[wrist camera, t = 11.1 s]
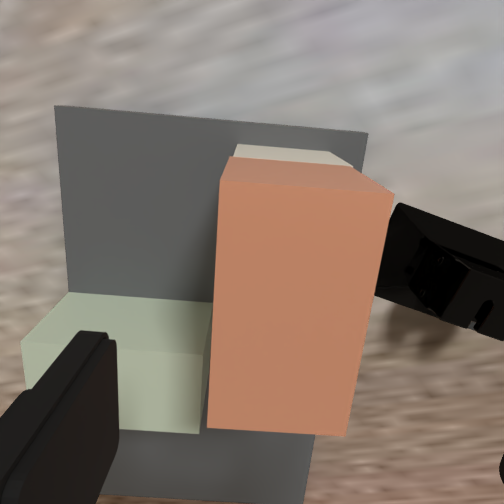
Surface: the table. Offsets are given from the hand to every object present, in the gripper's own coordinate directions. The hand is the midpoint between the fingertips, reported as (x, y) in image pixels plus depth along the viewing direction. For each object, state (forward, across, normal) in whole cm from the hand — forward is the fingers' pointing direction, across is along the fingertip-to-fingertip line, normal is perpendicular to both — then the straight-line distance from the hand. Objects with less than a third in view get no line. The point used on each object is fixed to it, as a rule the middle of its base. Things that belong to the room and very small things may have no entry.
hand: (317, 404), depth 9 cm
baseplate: (+14, +4, +7) cm, 16 cm away
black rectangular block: (+15, -10, +2) cm, 18 cm away
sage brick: (+13, +8, +6) cm, 16 cm away
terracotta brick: (+8, 0, 0) cm, 8 cm away
